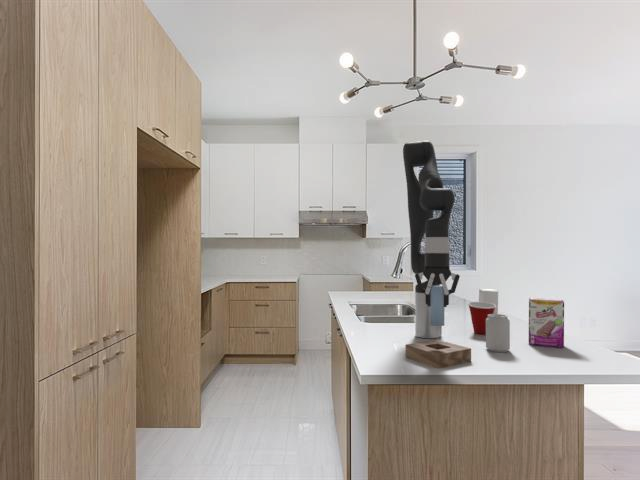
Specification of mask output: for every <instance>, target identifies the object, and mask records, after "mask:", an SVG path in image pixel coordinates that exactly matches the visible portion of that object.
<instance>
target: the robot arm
mask: <svg viewBox="0 0 640 480" xmlns="http://www.w3.org/2000/svg"><path fill="white" fill-rule="evenodd" d="M402 147H403V149H402V154H403V155H402V156H403V165H404V172H405V180H406V191H407V211H408V220H409V221H408V223H409V233H410V266H411V270H412V273H413V274H414V278H415V281H416V284H415V287H414V291H415V293H414V294H415V296H414V297H415V298H414V299H415V301H414V302H415V303H414V304H415V305H414V306H415V309H414V310H415V312H414V314H415V318H414V319H415V320H414V321H415V322H414V323H415V325H414V326H415V332H414V333H415V337H416V338H422V339H438V338H440V337H442V333H443V332H442V330H443V329H442V327H443V326H432V325H430V289H431V286H443V289H444V308H447V306H449V304H450V295H452V294H454V293H456V290H457V286H458V283H459V280H460V275H459V273H453V272H452V271H451V269H450V251H451V249H450V239H449V237H450V236H449V233H450V232H449V231H450V230H449V226H450V225H449V224H450V218H451V214H452V211H453V207H454V204H455V199H456V198H455V193H454V192H453V190H452V189H450V188H448V187H447V188H444V184H443V181H442V177H441V175H440V174H439V170H438V169H439V168H438V162H437V158H436V151H435V147H434V145H433V143H432V142H431V141H430V140H422V141H421V140H420V141H412V142H411V141H410V142H407V143H404V145H403V146H402ZM418 167H422V168H421V170H420V172H419V174H418V178H417V175H416V172H415V168H418ZM438 211H439V212H441V213H440V215H439V216H437V217H434V212H438ZM424 237H425V238H424ZM423 239H425V240H424V249H423V250H421V248H422V247H421V246H422V245H421V244H422V241H423ZM423 277H425V281H424V282H422V280H423ZM450 277H451V280H452V285H451V288H449V289H448V286H447V281H448V280H449V278H450Z"/></svg>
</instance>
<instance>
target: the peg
mask: <svg viewBox="0 0 640 480" xmlns="http://www.w3.org/2000/svg"><path fill="white" fill-rule="evenodd" d="M444 294H445V292H444V289H443V286H442V285H440V286H431V289H430V325H432V326H442V327H444V326H445V307H444Z"/></svg>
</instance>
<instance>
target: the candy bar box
mask: <svg viewBox="0 0 640 480" xmlns="http://www.w3.org/2000/svg"><path fill="white" fill-rule="evenodd" d="M528 345H529V346H539V347H551V348H559V349H560V348H562V349H563V348H564V347H565V301H564V300H563V299H555V298H538V297H528Z"/></svg>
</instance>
